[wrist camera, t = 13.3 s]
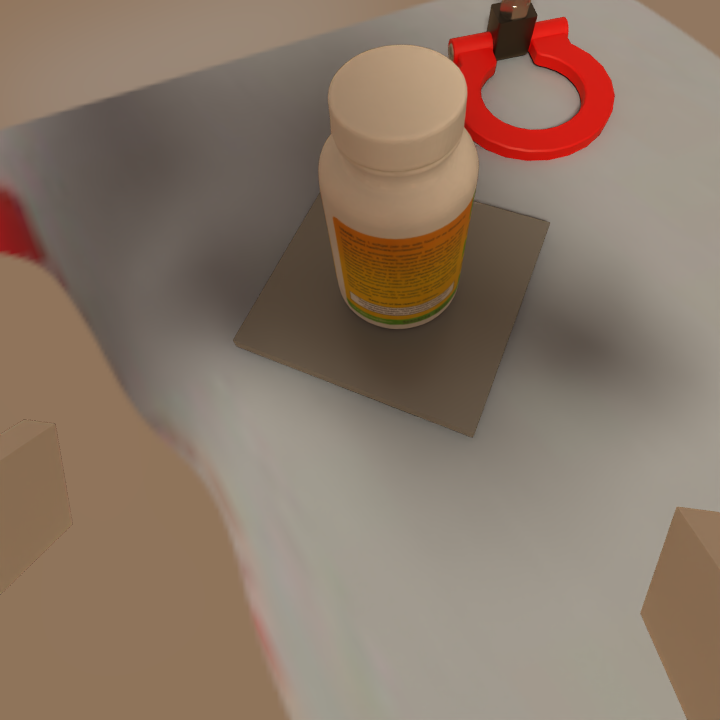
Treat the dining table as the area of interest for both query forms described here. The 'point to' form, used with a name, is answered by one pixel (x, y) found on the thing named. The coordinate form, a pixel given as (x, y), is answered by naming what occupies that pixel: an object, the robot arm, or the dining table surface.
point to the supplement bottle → (398, 183)
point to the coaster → (400, 346)
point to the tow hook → (547, 48)
